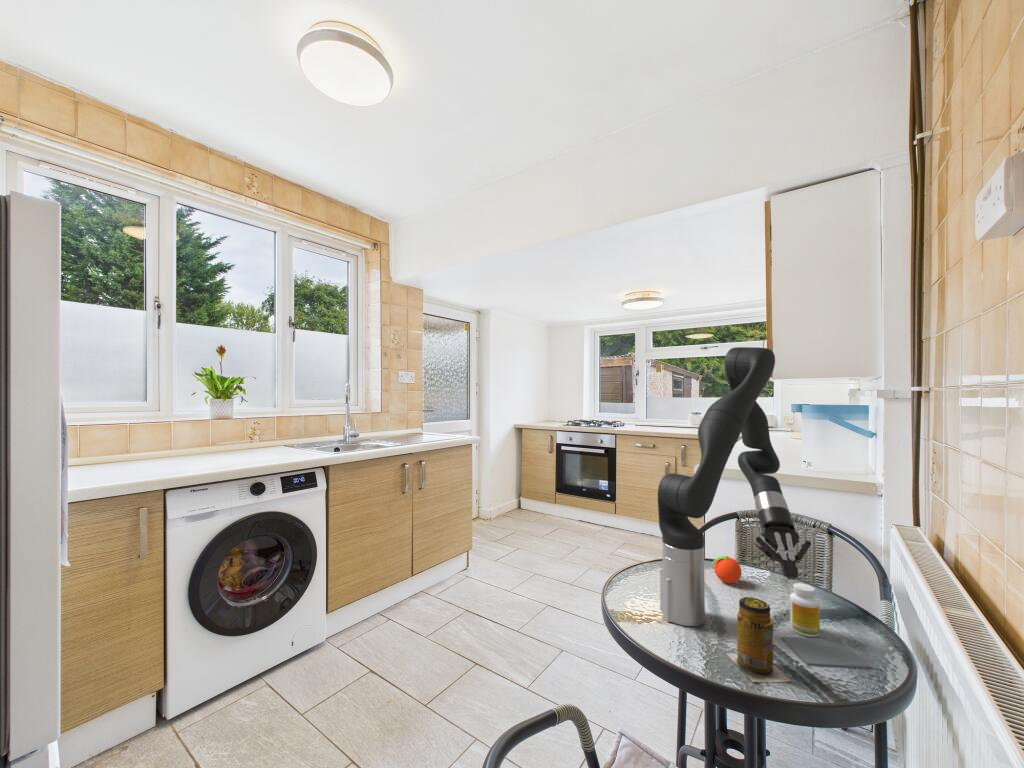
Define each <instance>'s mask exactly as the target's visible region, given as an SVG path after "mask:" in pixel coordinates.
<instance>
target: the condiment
mask: <svg viewBox="0 0 1024 768" xmlns="http://www.w3.org/2000/svg"><path fill="white" fill-rule="evenodd" d="M738 604H739V605H738V612H737V614H736V624H737V625H736V630H737V631H736V634H737V635H736V636H737V637H736V641H737V643H736V646H737V647H736V653H735V652H734V653H726V656H728V657H729V659H730V660H731V661H732V662H733V663H734V665H736V666H737V667H738V668H739V669H740V670H741V671H742V673H743V674H744V675H745V676H746V677H748V678H749V680H751V681H752V683H753V682H754V683H775V684H776V683H779V682H781V683H785V682H791V680H790V679H789V678H788V676H786V675H785V673H784V672H782V671H781V670H780V669H778V667H777V666H776V665H774V636H773V635H774V623H773V621H772V619H771V607H770V605H769V604H768V603H767V602H766V601H764V600H762V599H760V598H757V597H752V596H744V597H742V598H740V599H739V602H738Z"/></svg>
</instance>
